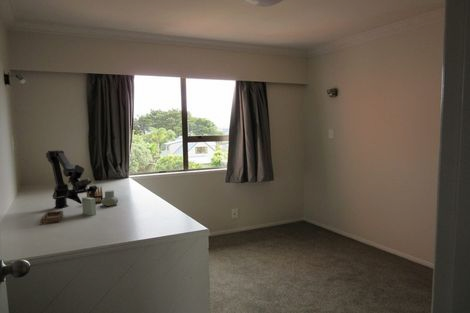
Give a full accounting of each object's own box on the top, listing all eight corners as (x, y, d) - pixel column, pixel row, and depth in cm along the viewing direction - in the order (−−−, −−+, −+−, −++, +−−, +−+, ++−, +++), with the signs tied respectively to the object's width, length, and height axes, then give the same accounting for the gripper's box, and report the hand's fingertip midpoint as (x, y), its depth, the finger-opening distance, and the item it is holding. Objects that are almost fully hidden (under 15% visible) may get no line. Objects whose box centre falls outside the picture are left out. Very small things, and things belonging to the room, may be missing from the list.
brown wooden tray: (46, 217, 198) (46, 212, 198) (63, 215, 202) (63, 210, 201) (41, 224, 184) (40, 219, 183) (59, 222, 187) (59, 217, 186)
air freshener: (100, 207, 222) (99, 192, 221) (102, 204, 230) (101, 190, 229) (118, 205, 224) (117, 191, 224) (118, 203, 232) (118, 189, 232)
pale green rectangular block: (82, 213, 205) (81, 197, 205) (87, 212, 208) (86, 196, 207) (91, 215, 201) (90, 199, 200) (96, 214, 203) (95, 198, 202)
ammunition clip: (86, 204, 231) (85, 187, 230) (86, 203, 233) (85, 187, 232) (103, 202, 236) (102, 186, 235) (103, 202, 237) (102, 185, 236)
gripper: (66, 176, 198) (78, 196, 193) (94, 172, 213) (106, 191, 208) (60, 188, 203) (72, 208, 197) (88, 184, 218) (99, 202, 213)
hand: (88, 202), depth 204 cm, fingers open, 9 cm apart
